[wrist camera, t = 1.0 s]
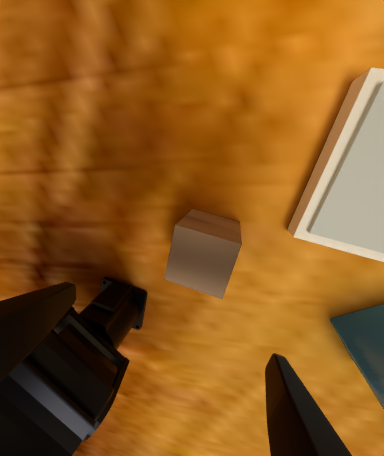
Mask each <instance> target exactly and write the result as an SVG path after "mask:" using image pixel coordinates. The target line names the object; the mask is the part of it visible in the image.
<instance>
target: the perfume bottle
mask: <svg viewBox="0 0 384 456" xmlns="http://www.w3.org/2000/svg"><path fill="white" fill-rule="evenodd" d="M330 321H331V323H332V324H333V326H334V328H335V329H336V331H337V333H338V335H339V336H340V338H341V340H342V341H343V343H344V345H345V347H346V348H347V350H348V352H349V354H350V355H351V357H352V359H353V360H354V362H355V364H356V365H357V367H358V368H359V370H360V372H361V373H362V375H363V376H364V378H365V380H366V381H367V383H368V384H369V386H370V388H371V389H372V391H373V392H374V394H375V396H376V397H377V399H378V401H379V402H380V404H381V405H382V407H383V409H384V304H381V305H378V306H374V307H371V308H367V309H364V310H360V311H356V312H353V313H349V314H346V315H342V316H339V317H335V318H332V319H330Z"/></svg>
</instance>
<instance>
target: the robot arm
mask: <svg viewBox="0 0 384 456" xmlns="http://www.w3.org/2000/svg"><path fill="white" fill-rule="evenodd" d="M142 294H143V295H144V296H143V295H142ZM146 299H147V293H146V292H145V291H143V290H140V289H137V288H134V287H131V286H129V285H126V284H123V283H120V282H117V281H115V280H112V279H109V278H106V277H105V278H103V279H102V280H101V292H100V294H99V295H98V296H97V297H96V298H95V299H94V300H92V302H91V303H90V304H89V305H88V306H87V307H86V308H85V309H84V310H83V311H82V312H81V313H79V314H78V313H77V312H76V311H75V310H74V308H73V307H72V305H73V304H74V302H75V300H76V286H75V284H73V283H70V282H64V283H60V284H57V285H53V286H50V287H47V288H43V289H40V290H36V291H33V292H30V293H26V294H23V295H19V296H16V297H13V298H9V299H6V300H2V301H0V456H72V455H73V453H74V452H75V450H76V449H77V448H78V446H79V445H80V443H81V442H84V441H86V440H87V439H88V438H89V437H90V436H91V435H92V434H93V433H94V432H95V431H96V429H97V428H98V427H99V425H100V424H101V422H102V421H103V420H104V418H105V416H106V415H107V413H108V411H109V410H110V408H111V406H112V404H113V402H114V399H115V397H116V395H117V392H118V389H119V387H120V384H121V382H122V379H123V377H124V374H125V371H126V369H127V366H128V364H129V360H128V359H127V358H126V357H124V356H123V355H122V354H120V353H119V352H118V351H117V349H118V347H119V346H120V344H121V343H122V341H123V340H124V338H125V337H126V335H127V334H128V332H129V331H130V329H131V328H134V329H137V330H139V329H140V328H141V327H142V323H143V317H144V311H145V305H146ZM265 383H266V412H267V427H268V436H269V444H270V452H271V456H352V455H351V454H350V452H349V451H348V449H347V448H346V446H345V445H344V443H343V442H342V440H341V439H340V437H339V436H338V434H337V433H336V431H335V430H334V429H333V427H332V426H331V424H330V423H329V421H328V420H327V418H326V417H325V415H324V414H323V412H322V411H321V409H320V408H319V406H318V405H317V404H316V402H315V401H314V399H313V398H312V396H311V395H310V393H309V392H308V390H307V389H306V387H305V386H304V384H303V383H302V381H301V380H300V379H299V377H298V376H297V374H296V373H295V371H294V370H293V368H292V367H291V365H290V364H289V362H288V361H287V359H286V358H285V357H284V356H281V355H278V354H275V353H274V354H272V356H271V358H270V360H269V362H268V364H267V366H266V369H265Z"/></svg>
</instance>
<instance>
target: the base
mask: <svg viewBox="0 0 384 456" xmlns="http://www.w3.org/2000/svg"><path fill="white" fill-rule="evenodd" d="M287 230H288V231H289V233H290V234H291V235H292V236H293V237H295V238H299V239H302V240H306V241H310V242H313V243H317V244H320V245H324V246H328V247H331V248H335V249H338V250H342V251H345V252H349V253H353V254H356V255H360V256H363V257H367V258H371V259H374V260H378V261H381V262H384V69H378V68H372V67H371V68H370V69H369V70H367V71H366V72H365V73H363V74H362V75H361V76H359V77H358V78H357V79H355V80H354V81H353V82H352V83H351V86H350V88H349V90H348V93H347V95H346V97H345V99H344V102H343V104H342V106H341V108H340V111H339V113H338V115H337V118H336V120H335V122H334V124H333V127H332V129H331V131H330V133H329V136H328V138H327V140H326V143H325V145H324V147H323V149H322V152H321V154H320V156H319V158H318V161H317V163H316V165H315V168H314V170H313V172H312V174H311V177H310V179H309V181H308V183H307V186H306V188H305V190H304V193H303V195H302V197H301V199H300V202H299V204H298V206H297V208H296V211H295V213H294V215H293V218H292V220H291V222H290V224H289V227H288V229H287Z"/></svg>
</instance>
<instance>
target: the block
mask: <svg viewBox="0 0 384 456" xmlns="http://www.w3.org/2000/svg"><path fill="white" fill-rule="evenodd" d="M241 245H242V242H241V232H240V222H239V221H235V220H231V219H228V218H224V217H221V216H217V215H213V214H210V213H206V212H203V211H199V210H195V209H192V210H191V211H190V212H189V213H187V214H186V215H185V216H184V217H183V218H182V219H181V220H180V221H179V222H178V223H177V224H176V225H175V228H174V233H173V238H172V243H171V248H170V253H169V258H168V263H167V268H166V273H165V278H164V280H167V281H170V282H173V283H176V284H179V285H182V286H185V287H188V288H191V289H193V290H196V291H199V292H202V293H205V294H208V295H211V296H214V297H217V298H220V299H222V298H223V295H224V293H225V290H226V287H227V284H228V281H229V279H230V276H231V273H232V270H233V267H234V265H235V262H236V259H237V256H238V253H239V251H240V248H241Z"/></svg>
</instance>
